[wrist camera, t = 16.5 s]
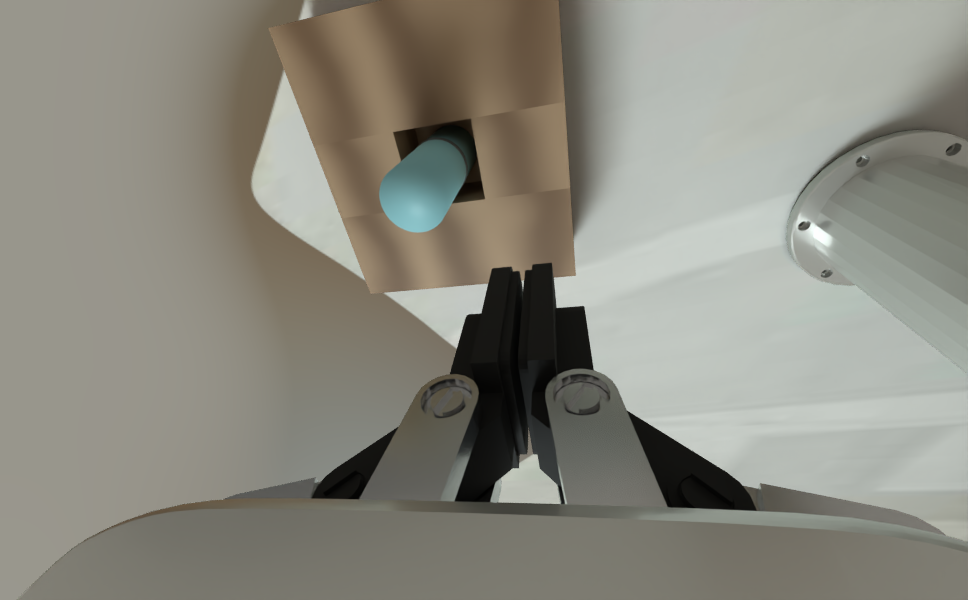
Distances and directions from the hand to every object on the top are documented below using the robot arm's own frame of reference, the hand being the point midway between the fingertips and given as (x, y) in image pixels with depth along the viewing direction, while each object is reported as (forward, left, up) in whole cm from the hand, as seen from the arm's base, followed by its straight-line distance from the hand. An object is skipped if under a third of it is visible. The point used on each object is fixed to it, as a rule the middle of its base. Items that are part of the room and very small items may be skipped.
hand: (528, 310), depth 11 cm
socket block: (+7, 0, -25) cm, 26 cm away
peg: (+7, 0, -24) cm, 25 cm away
